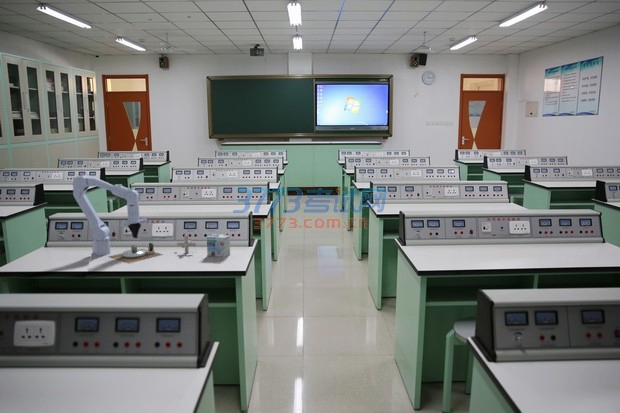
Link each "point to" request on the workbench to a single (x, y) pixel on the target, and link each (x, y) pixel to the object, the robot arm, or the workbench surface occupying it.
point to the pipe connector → (186, 243)
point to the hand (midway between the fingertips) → (135, 237)
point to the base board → (131, 260)
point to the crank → (139, 252)
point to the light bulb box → (218, 245)
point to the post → (134, 248)
